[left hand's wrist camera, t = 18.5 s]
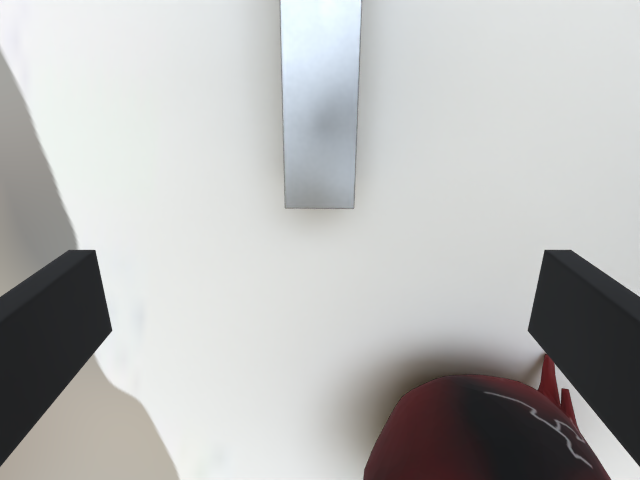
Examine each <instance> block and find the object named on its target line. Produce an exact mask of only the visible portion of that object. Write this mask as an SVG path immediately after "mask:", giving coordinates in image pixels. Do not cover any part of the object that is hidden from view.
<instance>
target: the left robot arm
mask: <svg viewBox="0 0 640 480" xmlns="http://www.w3.org/2000/svg"><path fill="white" fill-rule="evenodd" d="M111 332H112V327H111V322H110V318H109V313H108V308H107V303H106V299H105V294H104V289H103V284H102V280H101V275H100V270H99V265H98V261H97V256H96V251H95V250H68V251H67V252H65V253H64V254H62V255H61V256H60V257H58V258H57V259H55V260H54V261H52V262H51V263H49V264H48V265H46V266H45V267H43V268H42V269H41V270H39V271H38V272H36V273H35V274H33V275H32V276H30V277H29V278H27V279H26V280H24V281H23V282H22V283H20V284H19V285H17V286H16V287H14V288H13V289H11V290H10V291H8V292H7V293H5V294H4V295H3V296H1V297H0V466H1V465H2V464H3V463H4V462H5V460H6V459H7V458H8V457H9V455H10V454H11V453H12V452H13V450H14V449H15V448H16V447H17V446H18V444H19V443H20V442H21V441H22V440H23V438H24V437H25V436H26V435H27V434H28V432H29V431H30V430H31V429H32V427H33V426H34V425H35V424H36V423H37V421H38V420H39V419H40V418H41V417H42V415H43V414H44V413H45V412H46V410H47V409H48V408H49V407H50V406H51V404H52V403H53V402H54V401H55V399H56V398H57V397H58V396H59V395H60V393H61V392H62V391H63V390H64V389H65V387H66V386H67V385H68V384H69V383H70V381H71V380H72V379H73V378H74V376H75V375H76V374H77V373H78V372H79V370H80V369H81V368H82V367H83V366H84V364H85V363H86V362H87V361H88V359H89V358H90V357H91V356H92V355H93V353H94V352H95V351H96V350H97V349H98V347H99V346H100V345H101V344H102V342H103V341H104V340H105V339H106V338H107V336H108V335H109V334H110V333H111ZM528 332H529V333H530V334H531V335H532V336H533V338H534V339H535V340H536V341H537V342H538V344H539V345H540V346H541V347H542V349H543V350H544V351H545V352H546V353H547V355H548V356H549V357H550V358H551V359H552V361H553V362H554V363H555V364H556V366H557V367H558V368H559V369H560V370H561V372H562V373H563V374H564V375H565V376H566V378H567V379H568V380H569V381H570V383H571V384H572V385H573V386H574V387H575V389H576V390H577V391H578V392H579V393H580V395H581V396H582V397H583V398H584V400H585V401H586V402H587V403H588V404H589V406H590V407H591V408H592V409H593V410H594V412H595V413H596V414H597V415H598V417H599V418H600V419H601V420H602V421H603V423H604V424H605V425H606V426H607V427H608V429H609V430H610V431H611V432H612V434H613V435H614V436H615V437H616V438H617V440H618V441H619V442H620V443H621V445H622V446H623V447H624V448H625V449H626V451H627V452H628V453H629V454H630V455H631V457H632V458H633V459H634V460H635V462H636V463H637V464H638V465H639V466H640V297H639V296H637V295H636V294H635V293H633V292H632V291H630V290H629V289H627V288H626V287H624V286H623V285H621V284H620V283H618V282H617V281H616V280H614V279H613V278H611V277H610V276H608V275H607V274H605V273H604V272H602V271H601V270H599V269H598V268H597V267H595V266H594V265H592V264H591V263H589V262H588V261H586V260H585V259H583V258H582V257H580V256H579V255H578V254H576V253H575V252H573V251H572V250H545V251H544V256H543V261H542V265H541V270H540V275H539V280H538V284H537V289H536V294H535V299H534V303H533V308H532V313H531V318H530V322H529V327H528Z"/></svg>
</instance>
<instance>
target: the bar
mask: <svg viewBox="0 0 640 480" xmlns="http://www.w3.org/2000/svg"><path fill="white" fill-rule="evenodd" d="M361 14H362V0H280V31H281V71H282V111H283V151H284V191H285V208H312V209H354V199H355V173H356V146H357V120H358V93H359V67H360V40H361Z"/></svg>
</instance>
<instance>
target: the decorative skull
mask: <svg viewBox="0 0 640 480" xmlns="http://www.w3.org/2000/svg"><path fill="white" fill-rule="evenodd" d="M363 480H611V479H610V477H609V475H608V474H607V472H606V471H605V469H604V467H603V466H602V464H601V463H600V461H599V459H598V458H597V456H596V455H595V453H594V452H593V450H592V449H591V448H590V446H589V445H588V443H587V442H586V440H585V439H584V437H583V436H582V434H581V433H580V431H579V429H578V426H577V423H576V419H575V415H574V410H573V406H572V402H571V398H570V393H569V389H563V388H562V390H561V404H560V399H559V394H558V388H557V383H556V377H555V365H554V362H553V361H552V359H551V358H550V357H549V356H548V355H547V354H545V357H544V362H543V366H542V374H541V383H540V386H539V389H538V390H535V389H534V388H532V387H530V386H528V385H526V384H523V383H521V382H519V381H515V380H510V379H505V378H499V377H493V376H486V375H451V376H444V377H440V378H437V379H434V380H432V381H429V382H427V383H425V384H423V385H421V386H419V387H417V388H415V389H413V390H411V391H409V392H408V393H406V394H405V395H404V396H403V397H402V398H401V399H400V400H399V402H398V403H397V405H396V406H395V408H394V410H393V412H392V413H391V415H390V417H389V419H388V420H387V422H386V424H385V426H384V428H383V430H382V432H381V434H380V435H379V437H378V439H377V441H376V443H375V445H374V448H373V450H372V452H371V455H370V457H369V460H368V462H367V465H366V467H365V470H364V479H363Z"/></svg>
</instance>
